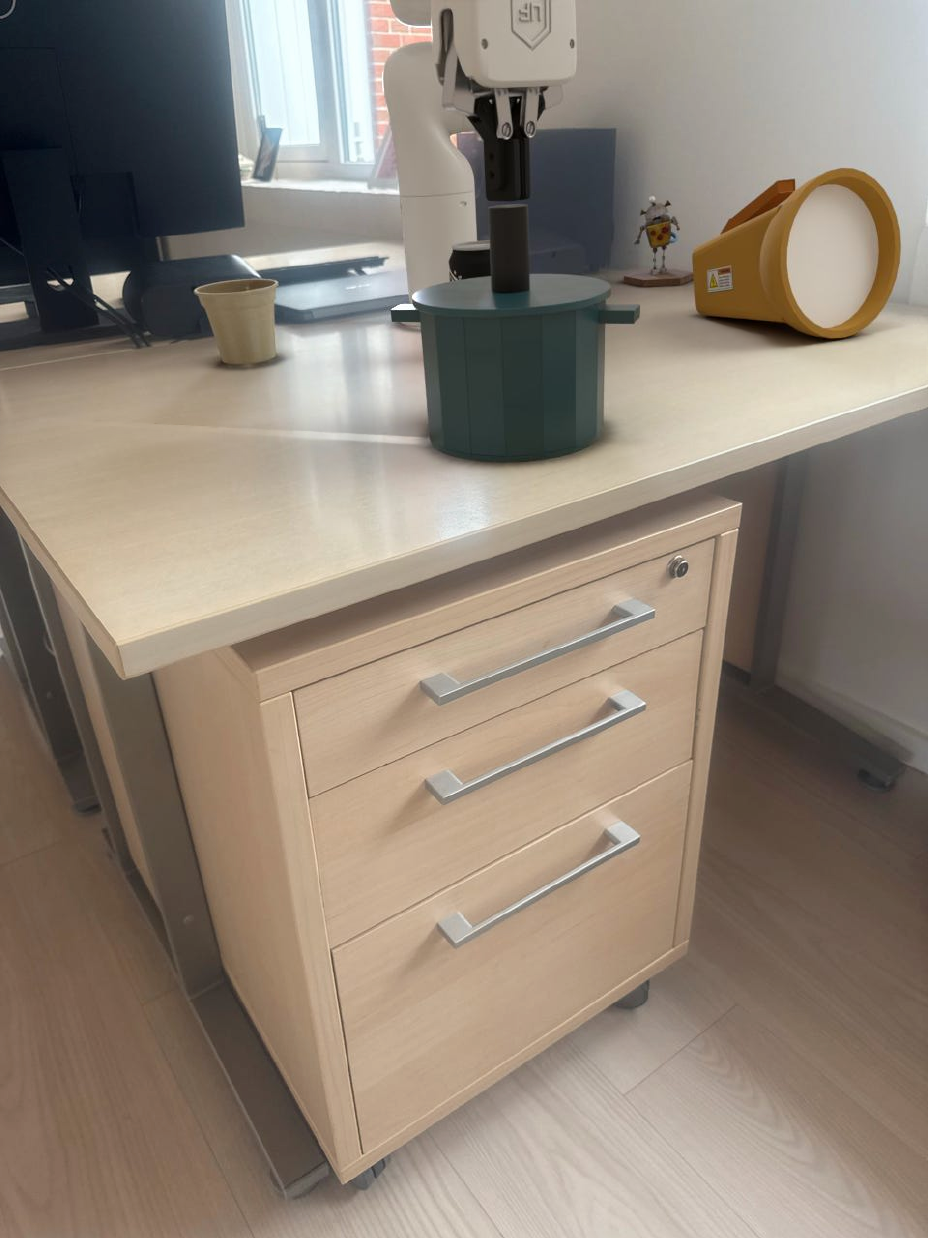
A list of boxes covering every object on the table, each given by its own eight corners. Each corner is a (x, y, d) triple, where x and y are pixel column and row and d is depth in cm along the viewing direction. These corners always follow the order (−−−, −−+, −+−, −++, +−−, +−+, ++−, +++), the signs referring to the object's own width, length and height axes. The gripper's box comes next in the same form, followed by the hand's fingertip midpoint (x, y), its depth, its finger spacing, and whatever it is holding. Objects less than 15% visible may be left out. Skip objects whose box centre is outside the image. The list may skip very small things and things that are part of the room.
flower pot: (271, 371, 99) (258, 291, 95) (195, 372, 101) (178, 294, 97) (301, 352, 107) (290, 277, 103) (230, 353, 109) (216, 279, 105)
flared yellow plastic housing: (902, 326, 99) (900, 154, 94) (785, 348, 93) (776, 167, 88) (776, 339, 117) (768, 196, 112) (671, 359, 111) (658, 209, 106)
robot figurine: (692, 274, 139) (697, 190, 133) (700, 283, 131) (706, 195, 125) (621, 277, 141) (623, 194, 135) (625, 287, 133) (627, 199, 127)
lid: (452, 288, 78) (447, 199, 75) (627, 287, 73) (629, 192, 70) (381, 325, 66) (371, 220, 62) (586, 327, 61) (587, 213, 57)
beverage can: (446, 357, 100) (438, 244, 94) (498, 349, 102) (493, 237, 96) (469, 369, 95) (462, 249, 89) (523, 360, 97) (520, 242, 91)
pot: (436, 404, 84) (427, 282, 78) (647, 412, 77) (652, 280, 72) (373, 454, 72) (357, 315, 67) (615, 469, 66) (619, 317, 60)
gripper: (446, -141, 50) (465, 211, 59) (618, -116, 58) (612, 190, 67) (370, -111, 55) (398, 209, 64) (538, -91, 63) (542, 190, 72)
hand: (508, 199), depth 66 cm, fingers closed
